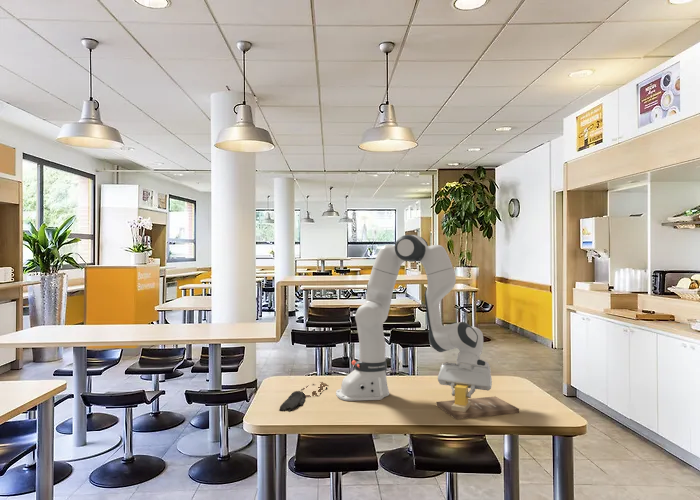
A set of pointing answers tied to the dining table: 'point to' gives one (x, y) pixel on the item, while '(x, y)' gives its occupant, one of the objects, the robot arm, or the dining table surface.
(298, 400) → the dark grey tapered piece
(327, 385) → the wooden fragment
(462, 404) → the block
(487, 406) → the walnut board
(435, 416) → the dining table surface
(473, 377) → the robot arm
